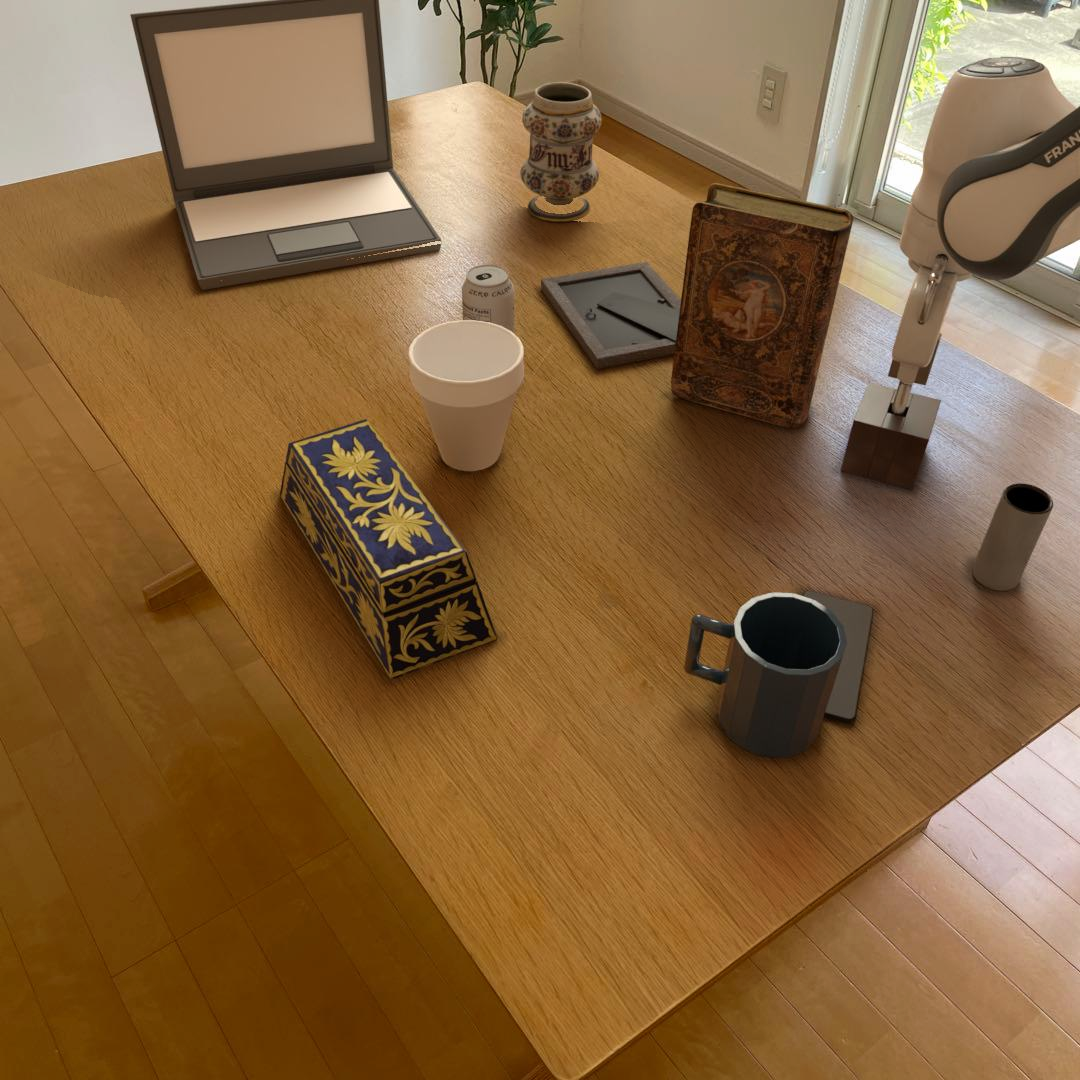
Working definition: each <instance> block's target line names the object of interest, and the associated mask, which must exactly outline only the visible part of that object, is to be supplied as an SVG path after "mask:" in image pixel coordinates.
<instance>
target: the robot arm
mask: <svg viewBox="0 0 1080 1080" xmlns="http://www.w3.org/2000/svg"><path fill="white" fill-rule="evenodd" d="M931 121H932V122H931V124H930V128H929V131H928V135H927V138H926V141H925V146H924V149H923V153H922V166H923V167H922V173H921V177H920V179H919V181H918V183H917V185H916V186H915V188H914V189H913V192H912V194H911V198H910V202H909V205H908V210H907V213H906V217H905V220H904V224H903V228H902V231H901V235H900V239H899V249H900V250H901V252H902V253H903V255H904V256H905V257H906V258H907V259H908V260H907V264H908V266H909V268H910V269H911V270H912V271H913V272H914V273H915V274H916V275H915V276H914V277H915V278H914V280H913V283H912V285H911V288H910V290H909V293H908V295H907V299H906V302H905V304H904V308H903V312H902V316H901V319H900V323H899V325H898V329H897V331H896V335H895V339H894V342H893V346H892V349H891V358H892V359H893V360H895V361H897V362H900V367H899V371H898V374H897V380H898V381H899V382H900V381H904V382H908V383H912V382H914V381H915V379H916V375H917V372H918V369H919V367H926V366H928V364H929V363H930V361H931V358H932V355H933V352H934V349H935V346H936V343H937V340H938V337H939V334H941V331H942V328H943V326H944V322H945V320H946V316H947V314H948V310H949V307H950V306H951V305H950V304H951V301H952V298H953V296H954V292H955V290H956V286H957V283H959V282H963V281H967V280H968V279H970V278H972V277H973V276H975V277H977V278H981V279H984V280H990V281H1004V280H1008V279H1011V278H1014V277H1015V276H1017V275H1019V274H1021V273H1022V272H1024V271H1026V270H1027V269H1029V268H1031V267H1032V266H1034V265H1035V264H1036V263H1039V261H1041V260H1043V259H1044V258H1047V257H1048V256H1050V255H1052V254H1054V253H1056V252H1058V251H1060V250H1062V249H1064V248H1066V247H1068V246H1070V245H1072V244H1074V243H1076V242H1078V241H1080V105H1078V107H1076V105H1074V104H1073V103H1072V102H1071V101H1070V100H1068V98H1067V97H1066V96H1064V95H1063V94H1062V92H1061V91H1060V90H1059V88H1058V87H1057V85H1056V84H1055V82H1054V80H1053V77H1052V75H1051V72H1050V70H1049V68H1048V67H1047V66H1046V65H1045V64H1043V63H1042V62H1040V61H1036V59H1031V58H1028V57H1021V56H1000V57H988V58H983V59H980V60H976V61H973V62H971V63H968V64H966V65H964V66H962V67H960V68H959V69H958V70H956V71H955V72H953V74H952V75H951V77H950V78H949V80H948V82H947V84H946V86H945V87H944V89H943V92H942V94H941V96H940V99H939V102H938V104H937V107H936V109H935V112H934V115H933V118H932V120H931Z"/></svg>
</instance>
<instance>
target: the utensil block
mask: <svg viewBox="0 0 1080 1080" xmlns="http://www.w3.org/2000/svg"><path fill="white" fill-rule="evenodd" d="M896 392H897V388H893V387H890V386H885V385H882V384H878V383H874V382H868V384H867V386H866V389H865V391H864V394H863V396H862V398H861V401H860V403H859V406H858V409H857V410H856V413H855V416H854V419H853V422H852V425H851V429H850V433H849V436H848V441H847V444H846V447H845V452H844V455H843V459H842V463H841V467H840V471H841V472H845V473H847V474H848V473H849V474H852V475H856V476H860V477H862V478H867V479H870V480H873V481H878V482H881V483H885V484H888V485H891V486H895V487H898V488H899V487H900V488H902V489H905V490H910V491H913V489H914V486H915V484H916V480H917V477H918V475H919V472H920V469H921V465H922V462H923V459H924V457H925V453H926V450H927V447H928V444H929V442H930V438H931V435H932V432H933V429H934V425H935V423H936V418H937V415H938V412H939V409H940V406H941V403H942V400H941V399H939V398H934V397H930V396H927V395H922V394H919V393H915V392H914V393H913V392H910V395H909V399H908V402H907V405H906V409H905V412H904V415H903V417H902V416H898V415H894V414H890V412H891V409H892V405H893V402H894V399H895V395H896Z"/></svg>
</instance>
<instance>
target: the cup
mask: <svg viewBox="0 0 1080 1080" xmlns="http://www.w3.org/2000/svg"><path fill="white" fill-rule="evenodd" d="M524 349H525V347H524V344H523V343H522V341H521V339H520V338H519V337H518V336H517V335H516V334H515V332H514V333H512V332H511V331H509V330H508V329H506V328H504V327H502V326H499V325H496V324H493V323H489V322H483V321H476V320H463V319H461V320H453V321H446V322H443V323H440V324H437V325H434V326H431V327H430V328H427V329H425V330H423V331H421V332H420V334H418V335H417V336H416V337H415V338H414V339H413V340H412V341H411V344H410V345H409V347H408V354H407V358H408V360H409V380H410V383H411V386H412V388H413V389H414V390H415V391H416V392H417V394H418V396H419V399H420V403H421V405H422V408H423V410H424V414H425V416H426V419H427V421H428V424H429V427H430V430H431V432H432V435H433V438H434V441H435V443H436V446H437V449H438V451H439V455H440V458H441V460H442V461H443V463H445V464H446V465H447V466H448V467H450V468H452V469H455V470H457V471H462V472H463V471H464V472H476V471H481V470H485V469H488V468H490V467H491V466H493V465H495V463H497V461H498V460H499V458H500V456H501V452H502V449H503V445H504V441H505V439H506V434H507V431H508V428H509V423H510V420H511V417H512V413H513V409H514V404H515V401H516V399H517V394H518V390H519V388H520V387H521V386H522V384H523V381H524V379H525V365H524V357H525V351H524Z"/></svg>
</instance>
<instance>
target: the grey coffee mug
mask: <svg viewBox="0 0 1080 1080" xmlns="http://www.w3.org/2000/svg"><path fill="white" fill-rule="evenodd" d="M690 622H691V623H690V627H689V628H690V629H689V634H688V641H687V645H686V646H687V647H686V652H685V660H684V665H683V669H684V672H685V673H686V674H688V675H690V676H693V677H695V678H699V679H701V680H705V681H707V682H710V683H713V684H716V685H719V690H718V695H717V700H716V701H717V706H716V709H717V710H716V713H717V719H718V722H719V724H720V726H721V729H722V730H723V732H724V733H725V735H726V736H727V737H728V738H729V739H730V740H731V741H732V742H734V744H736V745H737V746H739V747H740V748H742V749H744V750H745V751H747V752H749V753H752V754H753V755H757V756H760V757H766V758H772V759H773V758H774V759H777V758H778V759H779V758H789V757H793V756H796V755H798V754H800V753H802V752H804V751H806V750H807V749H808V748H810V747H811V746H812V745H813V744H814V743H815V741H816V740H817V738H818V736H819V733H820V730H821V727H822V724H823V722H824V719H825V718H824V715H825V712H826V708H827V705H828V702H829V699H830V696H831V693H832V689H833V686H834V683H835V680H836V677H837V674H838V671H839V667H840V664H841V661H842V658H843V655H844V652H845V649H846V645H847V639H846V635H845V631H844V627H843V625H842V624H841V622H840V621H839V620H838V619H837V617H836V616H835V615H834V613H833V612H832V611H831V610H830V609H828V608H826V607H825V606H823V605H822V604H820V603H819V602H817V601H816V600H814V599H811V598H808V597H804V596H802V594H797V593H794V592H779V591H778V592H776V591H774V592H773V591H772V592H767V593H765V594H760V595H757V596H753V597H752V598H750V599H749V600H748V601H746V602H745V603H744V604H742V605H741V606H740V607H739V608H738V610H737V613H736V616H735V617H734V619H733V621H732V622H733V623H729V622H726V621H722V620H719V619H716V618H713V617H710V616H707V615H704V614H700V613H697V614H694V615H693V616H692V618H691V621H690ZM705 632H707V633H711V634H714V635H717V636H719V637H723V638H725V639H728V640H729V642H728V647H727V652H726V657H725V662H724V666H723V670H720V669H718V668H715V667H712V666H709V665H705V664H702V663H701V662H700V658H701V652H702V647H703V641H704V635H705ZM826 713H827V712H826Z"/></svg>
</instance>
